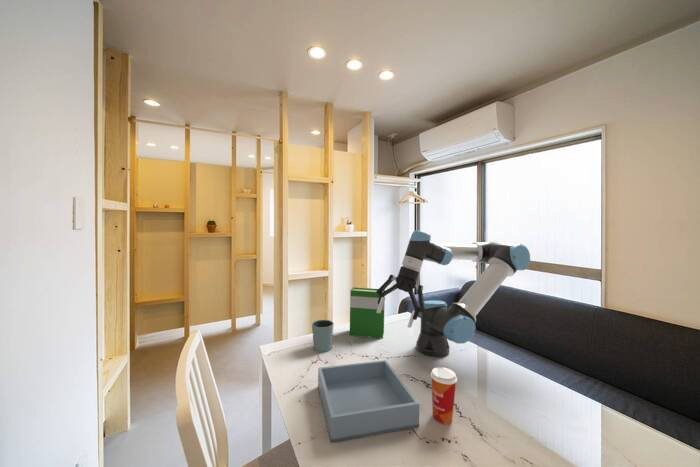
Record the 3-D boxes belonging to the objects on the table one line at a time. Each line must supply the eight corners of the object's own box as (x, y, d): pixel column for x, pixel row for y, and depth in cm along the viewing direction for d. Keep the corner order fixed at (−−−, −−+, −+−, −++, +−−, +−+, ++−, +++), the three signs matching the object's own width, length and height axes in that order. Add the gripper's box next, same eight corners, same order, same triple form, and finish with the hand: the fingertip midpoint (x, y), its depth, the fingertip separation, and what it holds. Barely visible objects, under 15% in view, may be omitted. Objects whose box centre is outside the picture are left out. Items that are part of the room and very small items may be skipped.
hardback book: (383, 332, 148) (384, 289, 148) (382, 338, 141) (384, 292, 140) (352, 330, 152) (352, 287, 151) (349, 335, 144) (350, 290, 144)
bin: (385, 378, 104) (386, 360, 104) (419, 427, 79) (419, 403, 79) (318, 386, 98) (318, 367, 97) (330, 443, 73) (331, 417, 72)
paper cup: (425, 409, 87) (426, 366, 86) (448, 408, 87) (450, 365, 87) (435, 427, 79) (436, 380, 78) (460, 426, 80) (462, 379, 79)
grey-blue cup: (337, 347, 130) (337, 322, 129) (324, 355, 121) (324, 329, 121) (320, 341, 135) (321, 318, 135) (306, 349, 127) (307, 324, 126)
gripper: (379, 257, 112) (362, 307, 111) (439, 277, 99) (420, 334, 97) (386, 260, 118) (370, 307, 117) (443, 279, 105) (426, 332, 103)
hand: (393, 319), depth 107 cm, fingers open, 13 cm apart
